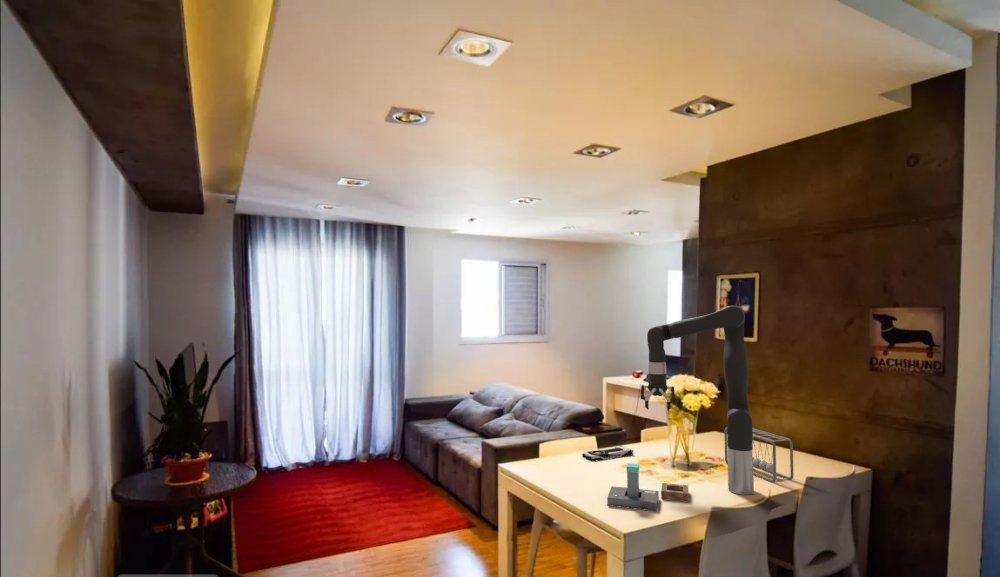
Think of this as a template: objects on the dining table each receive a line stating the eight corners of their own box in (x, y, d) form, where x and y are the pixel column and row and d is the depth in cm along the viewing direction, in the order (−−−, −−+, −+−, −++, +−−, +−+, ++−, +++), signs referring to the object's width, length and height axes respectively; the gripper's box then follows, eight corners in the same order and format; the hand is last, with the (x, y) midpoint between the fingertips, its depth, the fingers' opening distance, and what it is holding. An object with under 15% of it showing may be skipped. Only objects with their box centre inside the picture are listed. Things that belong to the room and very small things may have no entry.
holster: (688, 492, 215) (688, 485, 215) (688, 501, 206) (688, 493, 206) (662, 490, 219) (662, 482, 219) (661, 498, 209) (661, 491, 209)
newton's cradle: (724, 463, 254) (723, 426, 255) (742, 461, 257) (741, 424, 258) (774, 484, 226) (774, 441, 226) (794, 481, 229) (793, 439, 229)
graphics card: (633, 449, 269) (591, 455, 259) (633, 456, 269) (591, 462, 259) (621, 444, 278) (580, 450, 268) (621, 451, 278) (580, 457, 268)
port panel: (658, 498, 209) (658, 490, 209) (656, 511, 197) (656, 502, 197) (611, 493, 215) (611, 485, 215) (607, 505, 203) (607, 496, 203)
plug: (639, 500, 207) (639, 464, 208) (638, 504, 203) (638, 467, 204) (628, 499, 209) (627, 463, 209) (626, 503, 205) (626, 466, 205)
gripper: (639, 372, 232) (640, 410, 231) (674, 374, 227) (674, 412, 226) (641, 370, 239) (641, 407, 238) (674, 371, 234) (675, 409, 234)
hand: (657, 409), depth 232 cm, fingers open, 8 cm apart
